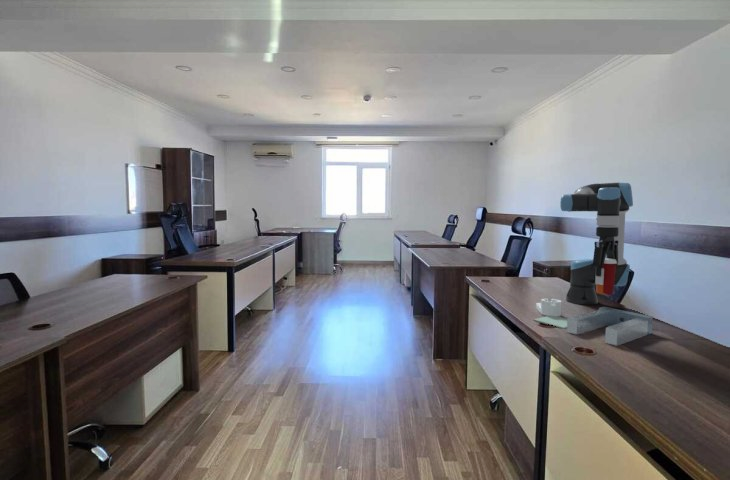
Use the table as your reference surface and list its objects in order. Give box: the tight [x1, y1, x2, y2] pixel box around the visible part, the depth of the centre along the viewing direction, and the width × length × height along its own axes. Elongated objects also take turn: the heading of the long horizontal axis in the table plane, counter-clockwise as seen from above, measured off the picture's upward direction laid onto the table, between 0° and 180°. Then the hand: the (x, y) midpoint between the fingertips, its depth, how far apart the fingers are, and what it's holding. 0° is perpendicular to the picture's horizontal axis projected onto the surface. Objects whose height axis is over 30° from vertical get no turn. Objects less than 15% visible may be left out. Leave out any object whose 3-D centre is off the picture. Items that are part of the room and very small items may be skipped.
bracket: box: [535, 298, 562, 317], centre depth 188 cm, size 20×9×7 cm, turn 165°
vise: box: [566, 306, 654, 347], centre depth 159 cm, size 37×19×7 cm, turn 121°
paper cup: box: [595, 258, 617, 296], centre depth 154 cm, size 8×8×14 cm
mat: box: [533, 315, 567, 330], centre depth 172 cm, size 14×14×1 cm
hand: (604, 283), depth 154 cm, fingers closed on paper cup, 8 cm apart
